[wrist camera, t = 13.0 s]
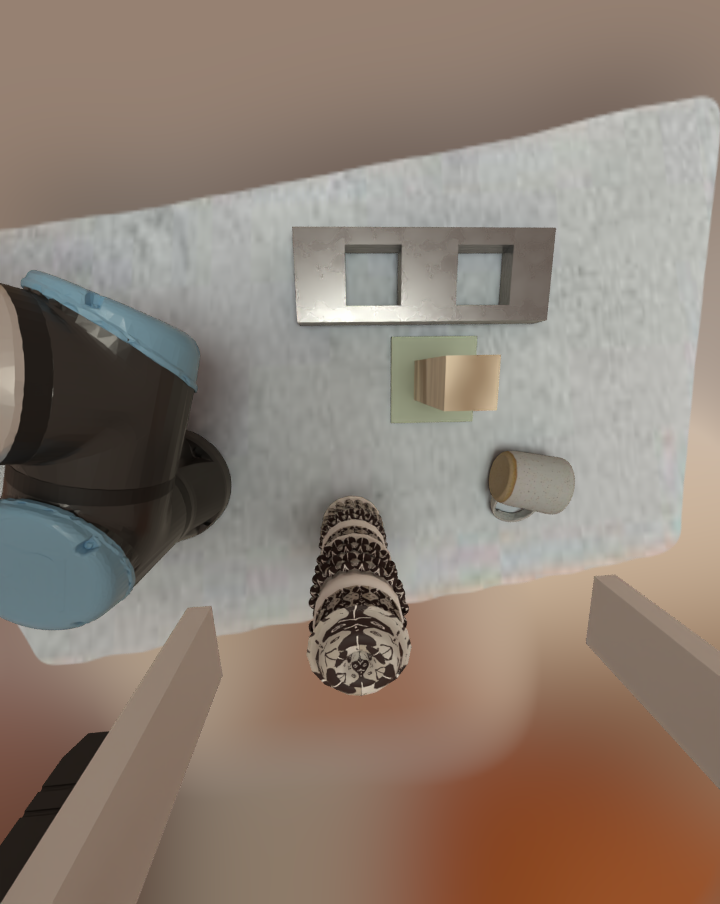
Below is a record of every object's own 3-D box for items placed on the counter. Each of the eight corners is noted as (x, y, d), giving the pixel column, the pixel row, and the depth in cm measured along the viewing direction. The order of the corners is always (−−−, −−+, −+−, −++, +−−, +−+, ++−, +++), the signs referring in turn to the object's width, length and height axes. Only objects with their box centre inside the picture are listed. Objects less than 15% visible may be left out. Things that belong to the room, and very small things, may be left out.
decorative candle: (385, 550, 51) (424, 712, 27) (322, 554, 51) (303, 722, 26) (383, 491, 49) (423, 608, 25) (317, 495, 49) (293, 618, 24)
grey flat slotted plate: (300, 325, 44) (297, 322, 41) (295, 237, 41) (292, 226, 38) (533, 323, 45) (546, 320, 42) (541, 237, 43) (555, 227, 40)
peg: (413, 399, 46) (443, 411, 32) (414, 360, 45) (446, 355, 31) (451, 399, 46) (496, 410, 32) (452, 360, 45) (500, 354, 31)
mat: (390, 422, 47) (391, 423, 46) (391, 337, 44) (391, 336, 44) (470, 420, 47) (472, 421, 47) (475, 336, 45) (477, 335, 44)
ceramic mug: (493, 443, 48) (520, 457, 41) (548, 451, 49) (585, 467, 42) (475, 513, 51) (497, 538, 43) (528, 520, 51) (559, 546, 44)
